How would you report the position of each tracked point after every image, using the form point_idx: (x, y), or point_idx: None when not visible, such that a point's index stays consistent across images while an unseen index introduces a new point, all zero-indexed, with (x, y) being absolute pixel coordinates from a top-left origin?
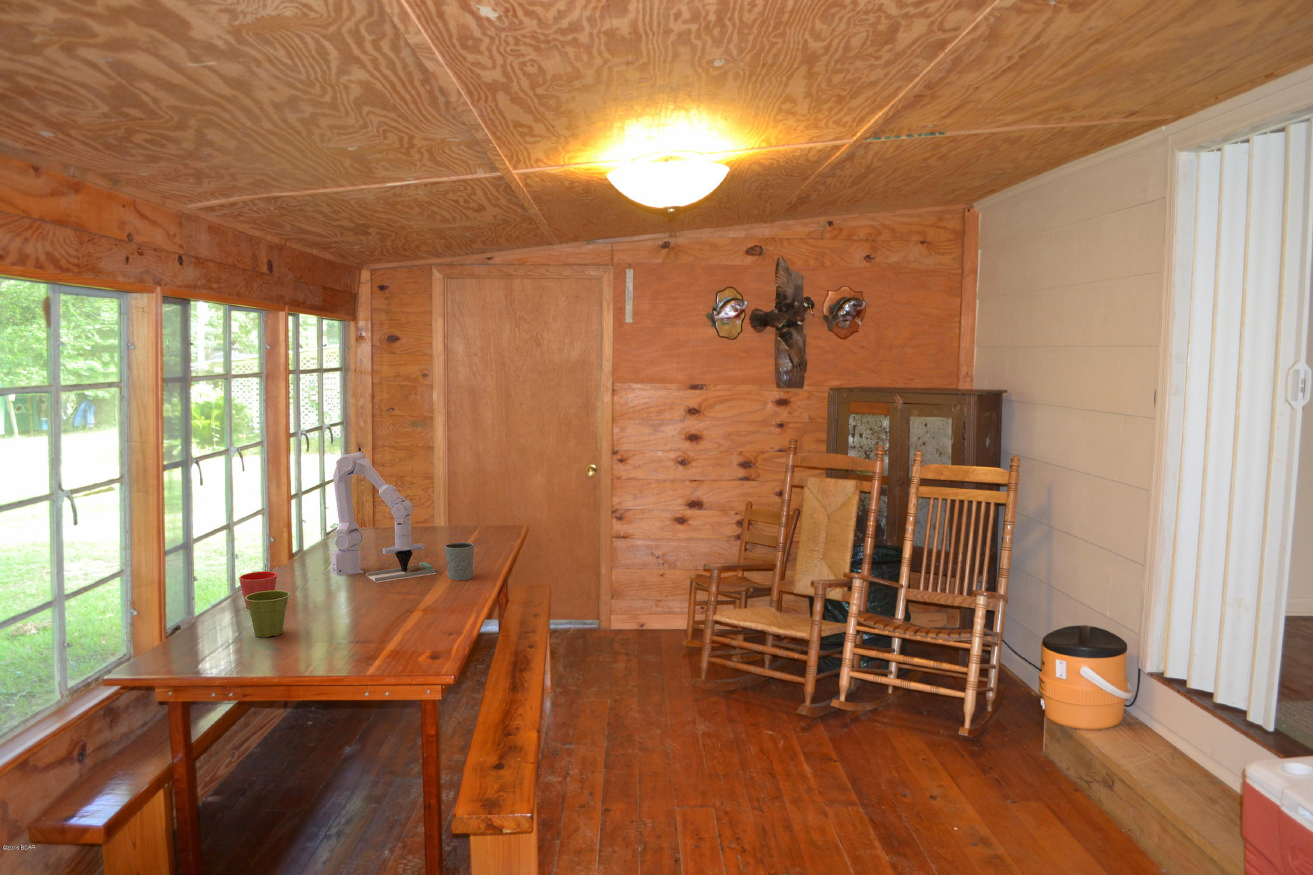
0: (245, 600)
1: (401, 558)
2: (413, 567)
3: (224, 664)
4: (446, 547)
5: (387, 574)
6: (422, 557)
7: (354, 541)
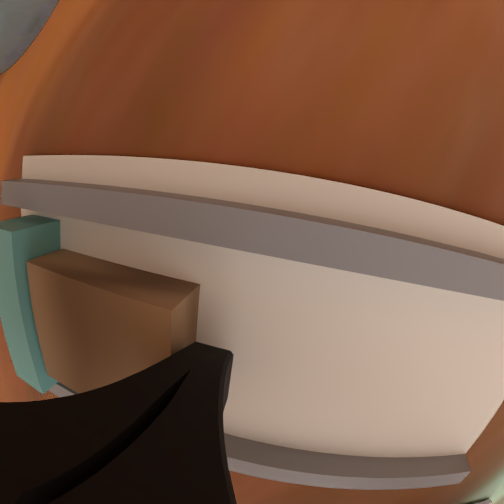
0: None
1: (210, 500)
2: (100, 345)
3: None
4: None
5: (344, 436)
6: None
7: None
